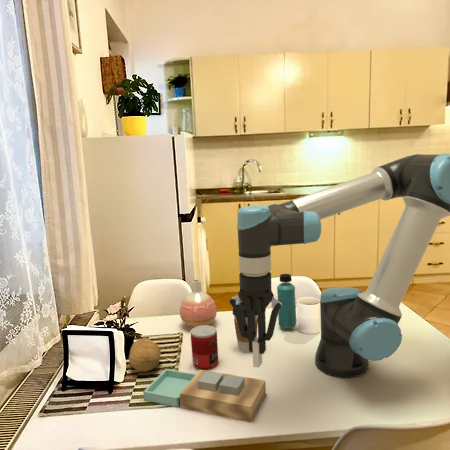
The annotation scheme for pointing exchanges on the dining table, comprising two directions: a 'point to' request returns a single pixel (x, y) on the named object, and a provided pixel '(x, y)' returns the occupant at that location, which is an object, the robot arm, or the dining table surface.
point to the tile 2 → (232, 384)
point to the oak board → (224, 399)
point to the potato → (144, 355)
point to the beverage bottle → (286, 302)
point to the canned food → (204, 347)
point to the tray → (168, 387)
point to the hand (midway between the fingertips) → (257, 364)
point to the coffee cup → (242, 341)
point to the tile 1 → (210, 381)
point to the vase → (197, 307)
